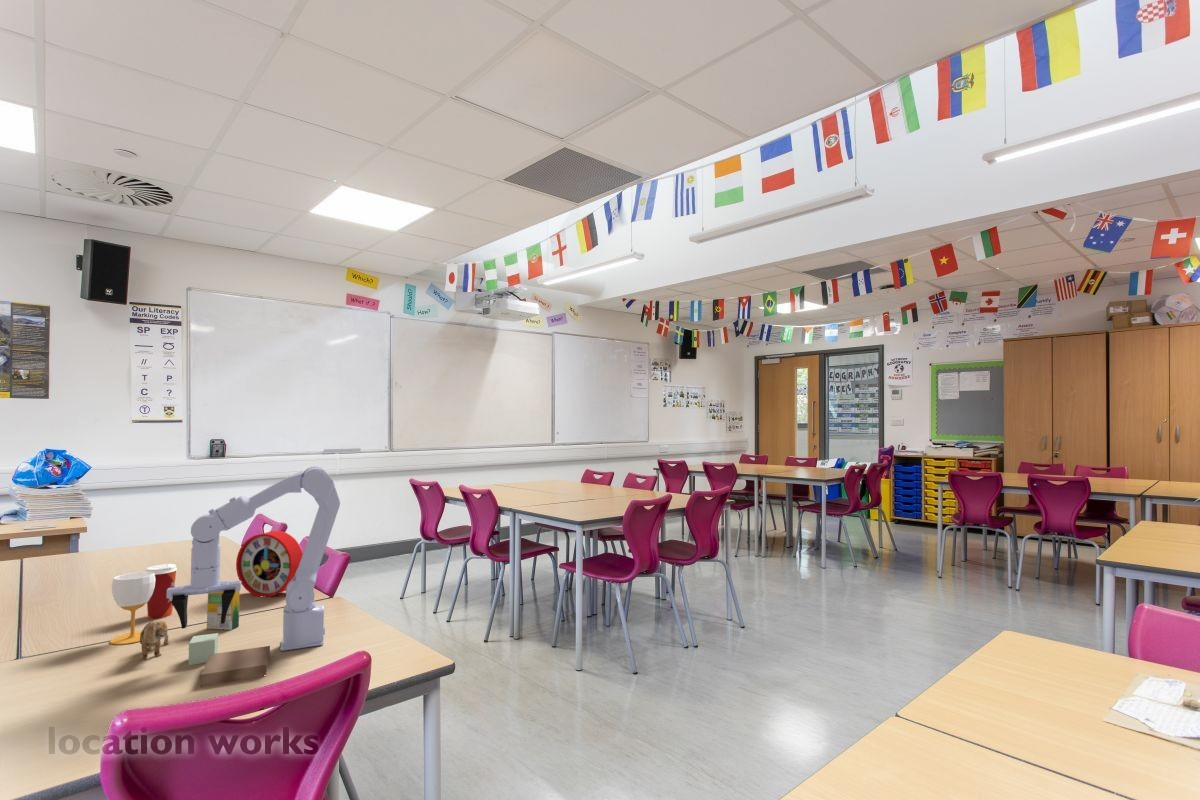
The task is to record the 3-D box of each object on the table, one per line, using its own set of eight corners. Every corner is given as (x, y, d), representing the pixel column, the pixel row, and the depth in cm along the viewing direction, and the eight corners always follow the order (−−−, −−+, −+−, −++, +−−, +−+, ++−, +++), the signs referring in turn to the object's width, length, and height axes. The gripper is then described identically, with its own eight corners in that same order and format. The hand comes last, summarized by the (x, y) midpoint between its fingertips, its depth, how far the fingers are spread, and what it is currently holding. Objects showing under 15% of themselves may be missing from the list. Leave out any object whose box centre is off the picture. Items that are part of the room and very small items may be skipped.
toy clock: (235, 595, 189) (236, 533, 190) (249, 590, 195) (250, 529, 195) (291, 598, 186) (292, 534, 186) (303, 593, 191) (304, 531, 192)
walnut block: (269, 658, 140) (269, 645, 140) (265, 678, 129) (266, 664, 129) (209, 667, 134) (209, 654, 134) (200, 689, 124) (200, 674, 124)
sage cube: (217, 654, 141) (218, 633, 142) (214, 661, 137) (214, 639, 137) (192, 657, 139) (193, 636, 139) (188, 665, 135) (189, 643, 135)
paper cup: (181, 614, 171) (182, 565, 171) (150, 621, 164) (151, 571, 165) (169, 609, 175) (170, 562, 175) (138, 616, 168) (139, 567, 169)
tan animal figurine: (166, 660, 138) (167, 621, 138) (137, 665, 135) (139, 625, 135) (169, 641, 150) (170, 605, 150) (143, 645, 147) (144, 609, 147)
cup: (102, 641, 150) (104, 577, 150) (143, 629, 158) (145, 569, 158) (120, 647, 145) (122, 581, 146) (161, 635, 153) (163, 573, 154)
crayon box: (239, 626, 160) (240, 583, 161) (231, 630, 157) (232, 586, 158) (214, 625, 161) (215, 582, 162) (206, 629, 158) (207, 585, 159)
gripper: (164, 573, 132) (162, 634, 132) (239, 566, 138) (237, 625, 138) (171, 566, 139) (169, 625, 138) (242, 560, 145) (241, 616, 144)
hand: (204, 624), depth 138 cm, fingers open, 7 cm apart
